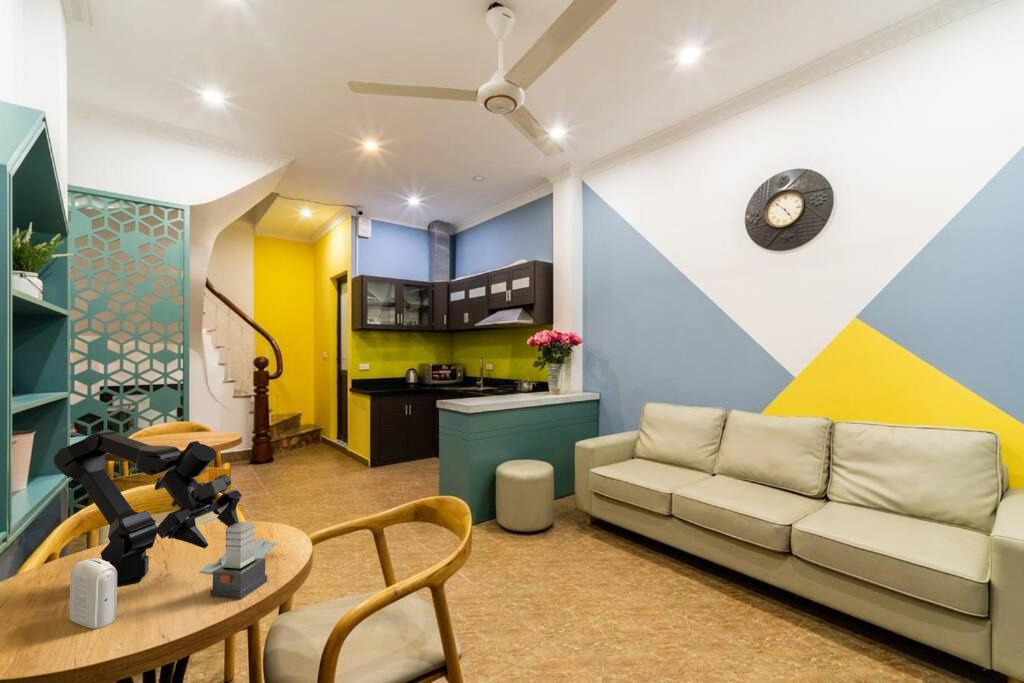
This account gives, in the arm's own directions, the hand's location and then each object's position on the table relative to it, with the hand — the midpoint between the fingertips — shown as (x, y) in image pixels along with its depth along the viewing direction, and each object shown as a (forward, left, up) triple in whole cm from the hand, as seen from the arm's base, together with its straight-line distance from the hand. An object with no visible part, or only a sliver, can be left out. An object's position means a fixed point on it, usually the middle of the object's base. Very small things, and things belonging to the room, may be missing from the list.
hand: (223, 538), depth 103 cm
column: (+4, -3, -6) cm, 7 cm away
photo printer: (-22, -4, -12) cm, 25 cm away
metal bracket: (+3, +12, -12) cm, 17 cm away
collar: (+4, -3, -11) cm, 12 cm away
